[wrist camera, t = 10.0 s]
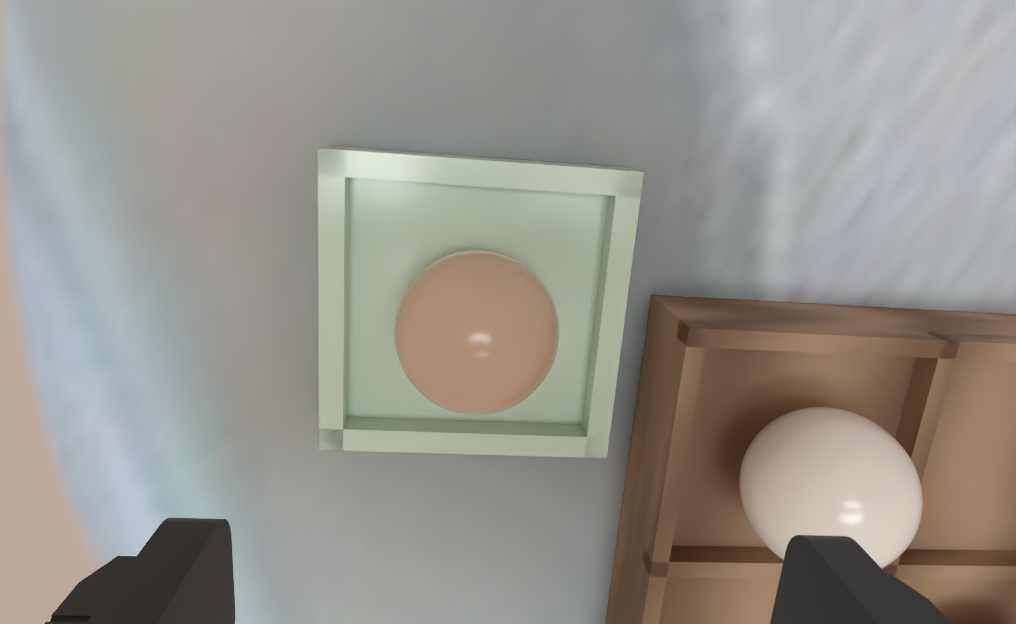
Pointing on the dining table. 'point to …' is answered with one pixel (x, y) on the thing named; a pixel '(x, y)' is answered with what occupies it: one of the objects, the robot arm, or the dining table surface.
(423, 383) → the brown egg
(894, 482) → the white egg
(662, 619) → the egg tray
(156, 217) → the dining table surface
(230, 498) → the dining table surface
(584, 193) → the dish
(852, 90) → the dining table surface
